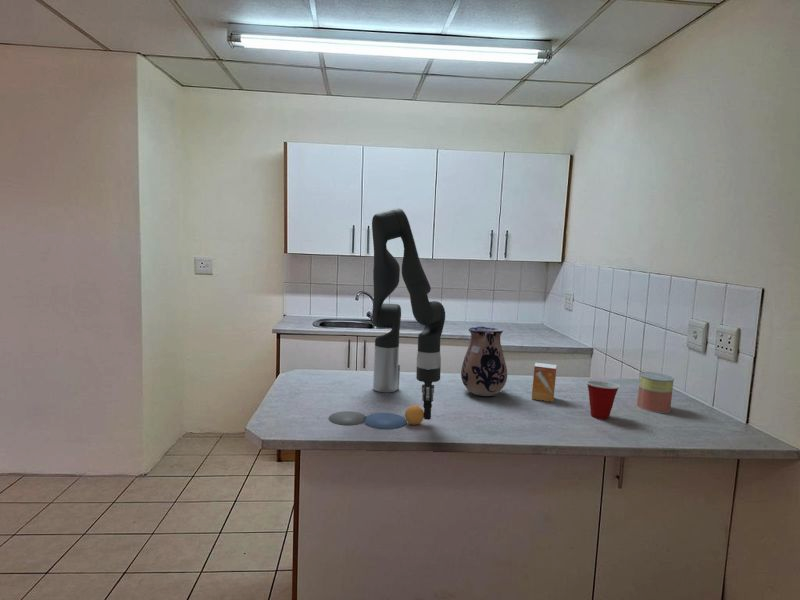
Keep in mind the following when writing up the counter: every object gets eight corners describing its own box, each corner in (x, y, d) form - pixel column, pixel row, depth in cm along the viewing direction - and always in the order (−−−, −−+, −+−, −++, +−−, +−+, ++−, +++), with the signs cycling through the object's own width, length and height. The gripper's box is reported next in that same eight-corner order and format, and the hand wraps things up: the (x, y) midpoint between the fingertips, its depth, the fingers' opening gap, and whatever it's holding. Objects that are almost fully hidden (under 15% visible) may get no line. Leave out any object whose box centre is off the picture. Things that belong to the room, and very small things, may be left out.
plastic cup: (615, 413, 182) (618, 380, 181) (617, 423, 172) (621, 389, 171) (583, 409, 186) (586, 376, 184) (583, 418, 176) (586, 384, 174)
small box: (531, 399, 194) (534, 365, 193) (532, 394, 200) (534, 362, 199) (553, 402, 192) (556, 368, 190) (554, 397, 198) (556, 364, 196)
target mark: (385, 410, 175) (385, 409, 175) (415, 422, 165) (415, 421, 165) (354, 419, 165) (354, 419, 165) (384, 432, 155) (384, 432, 155)
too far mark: (349, 409, 174) (350, 408, 174) (374, 419, 166) (374, 418, 166) (321, 417, 166) (321, 416, 166) (345, 428, 158) (345, 427, 158)
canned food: (674, 408, 192) (678, 377, 190) (665, 415, 183) (668, 382, 182) (642, 400, 199) (645, 370, 198) (632, 407, 191) (635, 375, 189)
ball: (423, 414, 167) (408, 404, 167) (430, 410, 162) (414, 399, 162) (414, 430, 164) (399, 419, 164) (421, 426, 159) (405, 415, 159)
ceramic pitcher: (469, 401, 189) (474, 334, 186) (450, 384, 210) (454, 323, 207) (513, 399, 193) (518, 333, 190) (491, 383, 214) (495, 323, 211)
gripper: (417, 360, 168) (416, 411, 170) (415, 369, 155) (414, 425, 157) (440, 360, 168) (439, 412, 170) (440, 370, 155) (439, 426, 157)
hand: (427, 418), depth 163 cm, fingers closed
